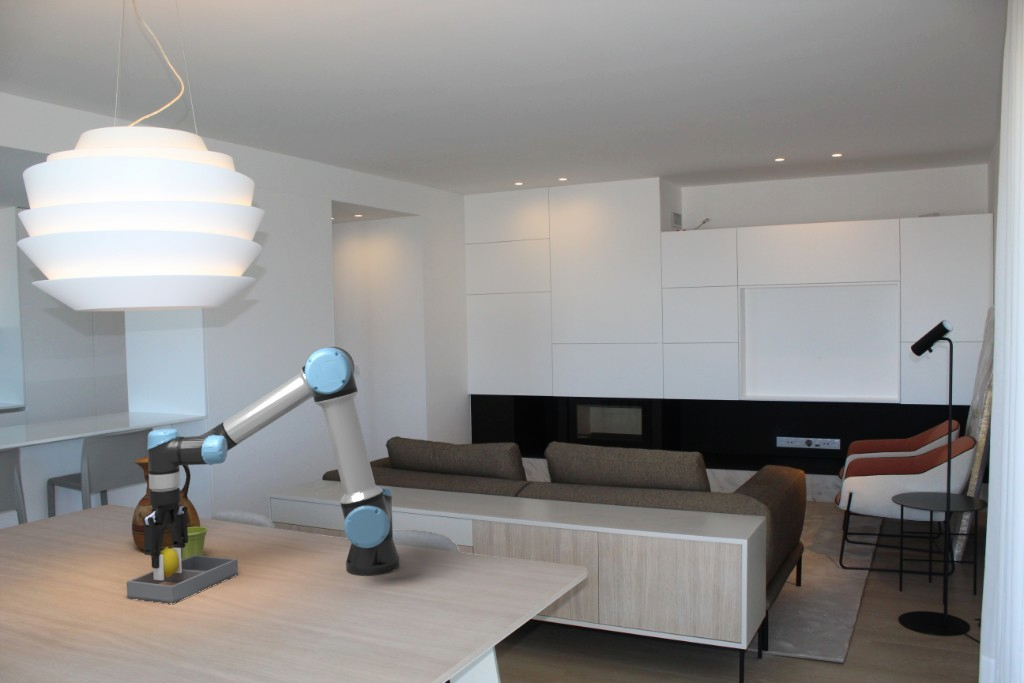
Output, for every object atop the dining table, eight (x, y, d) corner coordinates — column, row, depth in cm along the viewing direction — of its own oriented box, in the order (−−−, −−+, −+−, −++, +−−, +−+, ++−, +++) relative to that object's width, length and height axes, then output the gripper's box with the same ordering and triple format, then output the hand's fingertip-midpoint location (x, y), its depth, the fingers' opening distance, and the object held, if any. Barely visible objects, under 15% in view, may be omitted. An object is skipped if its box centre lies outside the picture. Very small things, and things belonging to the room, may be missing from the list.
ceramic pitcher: (132, 543, 267) (129, 452, 266) (198, 535, 275) (195, 446, 274) (132, 558, 249) (129, 461, 248) (203, 549, 257) (199, 455, 256)
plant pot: (186, 565, 241) (185, 536, 240) (168, 560, 246) (167, 531, 246) (214, 557, 248) (213, 529, 248) (197, 552, 254) (196, 525, 253)
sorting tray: (237, 575, 230) (237, 559, 230) (172, 604, 207) (172, 587, 207) (195, 570, 235) (194, 555, 235) (127, 598, 212) (126, 581, 212)
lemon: (152, 579, 214) (150, 549, 214) (169, 572, 219) (168, 543, 219) (166, 582, 212) (165, 551, 211) (184, 575, 217) (182, 545, 216)
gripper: (179, 480, 225) (182, 564, 225) (125, 495, 207) (129, 585, 208) (201, 482, 222) (204, 566, 223) (148, 496, 205) (151, 588, 205)
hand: (167, 575), depth 215 cm, fingers open, 6 cm apart
